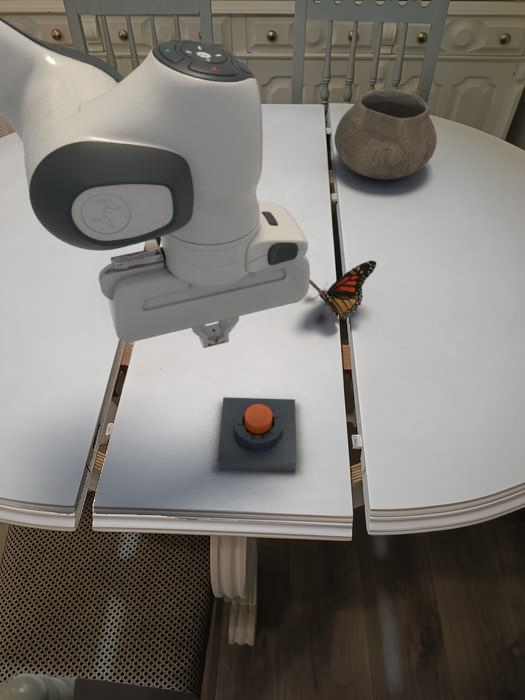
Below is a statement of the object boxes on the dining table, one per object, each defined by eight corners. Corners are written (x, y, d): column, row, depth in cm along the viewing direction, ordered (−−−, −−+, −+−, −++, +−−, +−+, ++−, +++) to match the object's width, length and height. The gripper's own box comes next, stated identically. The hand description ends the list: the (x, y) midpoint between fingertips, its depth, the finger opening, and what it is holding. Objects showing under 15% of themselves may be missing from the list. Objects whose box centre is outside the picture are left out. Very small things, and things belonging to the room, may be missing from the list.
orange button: (244, 434, 68) (244, 426, 67) (245, 410, 71) (245, 403, 70) (272, 434, 68) (272, 427, 67) (272, 411, 71) (272, 404, 70)
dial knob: (147, 257, 92) (144, 240, 89) (158, 255, 93) (155, 237, 90) (155, 277, 89) (152, 259, 86) (165, 274, 89) (163, 257, 86)
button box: (218, 469, 69) (217, 453, 66) (223, 406, 76) (222, 389, 73) (295, 471, 69) (297, 456, 66) (293, 408, 76) (295, 391, 73)
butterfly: (348, 283, 93) (357, 237, 86) (376, 320, 88) (388, 274, 80) (285, 300, 90) (288, 253, 83) (309, 339, 84) (315, 293, 77)
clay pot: (349, 137, 128) (359, 72, 117) (437, 157, 123) (456, 91, 111) (317, 180, 115) (324, 112, 104) (413, 206, 110) (432, 136, 98)
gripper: (101, 287, 44) (126, 387, 54) (324, 240, 49) (308, 339, 60) (88, 241, 48) (114, 343, 58) (297, 202, 53) (286, 302, 64)
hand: (213, 341), depth 59 cm, fingers closed
